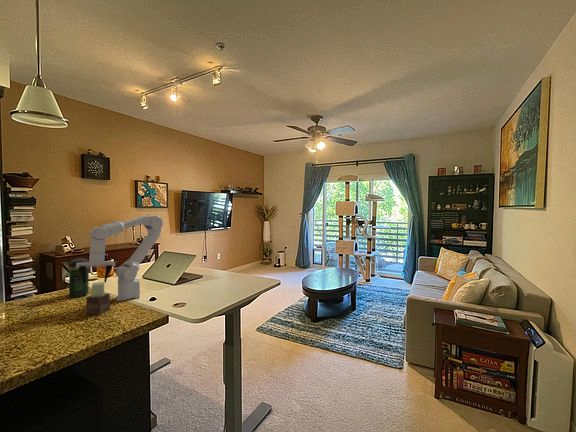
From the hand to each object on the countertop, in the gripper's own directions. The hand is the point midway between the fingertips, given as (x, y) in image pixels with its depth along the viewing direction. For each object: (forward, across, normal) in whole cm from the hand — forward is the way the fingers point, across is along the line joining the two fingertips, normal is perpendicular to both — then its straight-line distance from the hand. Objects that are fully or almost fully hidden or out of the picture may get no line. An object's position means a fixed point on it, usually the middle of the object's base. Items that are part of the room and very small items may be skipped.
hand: (95, 282), depth 124 cm
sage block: (+3, +2, -10) cm, 11 cm away
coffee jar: (+11, -7, +23) cm, 26 cm away
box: (+11, +2, -10) cm, 15 cm away
